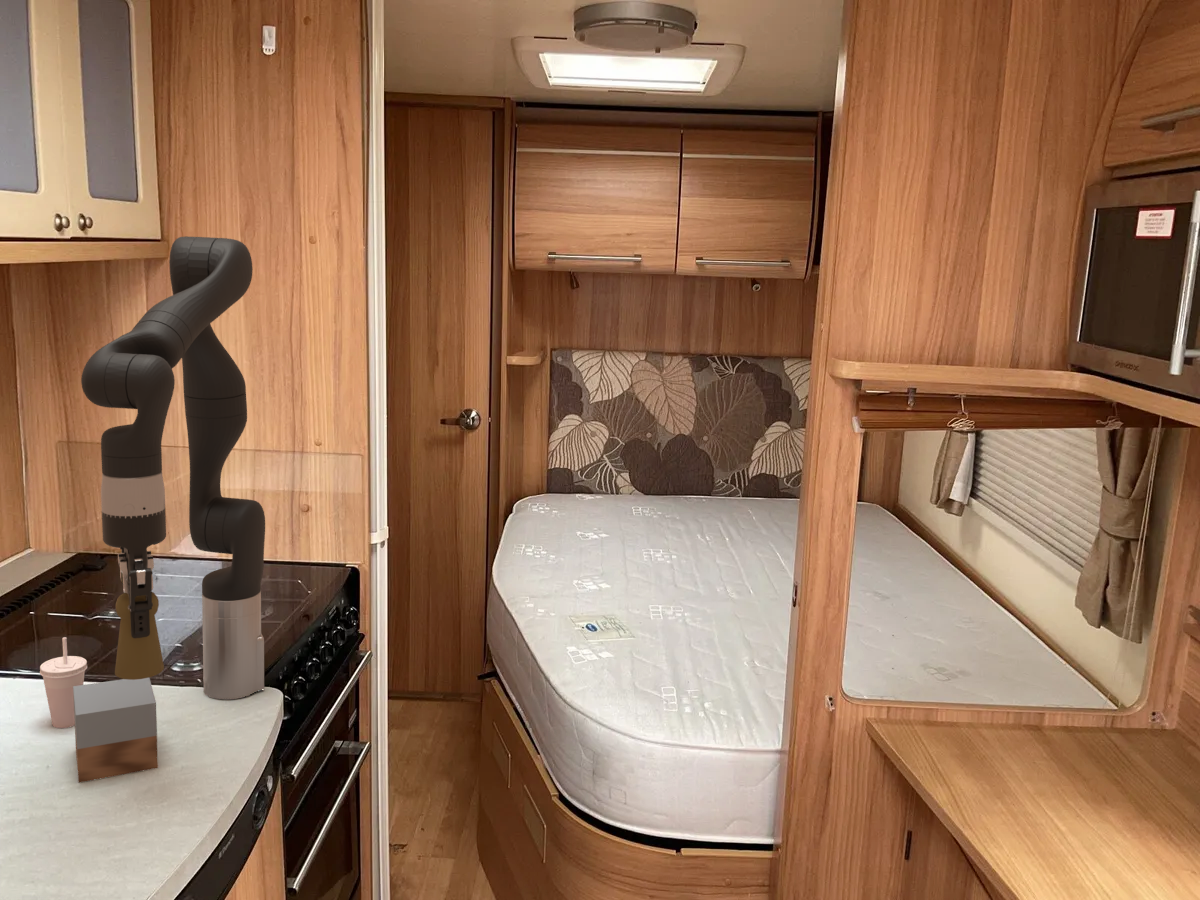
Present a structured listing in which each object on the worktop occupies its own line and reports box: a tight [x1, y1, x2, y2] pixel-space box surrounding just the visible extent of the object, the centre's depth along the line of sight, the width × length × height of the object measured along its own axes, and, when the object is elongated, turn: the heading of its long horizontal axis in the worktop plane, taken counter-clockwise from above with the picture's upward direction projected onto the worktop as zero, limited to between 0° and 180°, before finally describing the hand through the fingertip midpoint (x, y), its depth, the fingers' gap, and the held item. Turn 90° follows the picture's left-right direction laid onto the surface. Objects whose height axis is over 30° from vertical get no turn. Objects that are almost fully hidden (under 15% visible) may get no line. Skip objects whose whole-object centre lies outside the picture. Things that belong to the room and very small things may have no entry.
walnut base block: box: [74, 729, 159, 784], centre depth 140 cm, size 10×10×5 cm
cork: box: [114, 591, 165, 680], centre depth 130 cm, size 6×6×11 cm
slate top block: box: [73, 677, 158, 749], centre depth 139 cm, size 10×10×5 cm
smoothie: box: [39, 636, 88, 729], centre depth 149 cm, size 6×6×14 cm
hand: (138, 628), depth 130 cm, fingers closed on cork, 5 cm apart
